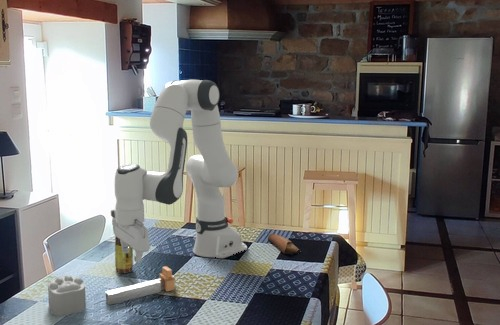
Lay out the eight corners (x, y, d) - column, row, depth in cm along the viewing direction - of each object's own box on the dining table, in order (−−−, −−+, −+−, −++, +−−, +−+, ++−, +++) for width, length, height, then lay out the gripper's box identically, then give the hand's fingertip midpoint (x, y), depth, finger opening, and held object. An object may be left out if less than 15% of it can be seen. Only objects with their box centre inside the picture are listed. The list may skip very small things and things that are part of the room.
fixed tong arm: (172, 285, 186) (172, 275, 186) (174, 286, 185) (174, 276, 185) (105, 302, 172) (105, 291, 172) (107, 303, 171) (107, 292, 171)
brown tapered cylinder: (303, 253, 219) (296, 240, 217) (289, 263, 218) (282, 250, 216) (285, 238, 236) (278, 227, 233) (272, 248, 234) (265, 236, 232)
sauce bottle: (128, 275, 194) (127, 222, 190) (112, 273, 195) (111, 220, 191) (136, 268, 200) (135, 216, 196) (120, 266, 201) (119, 215, 197)
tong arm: (159, 290, 182) (159, 280, 181) (160, 291, 181) (160, 281, 180) (107, 303, 171) (107, 293, 170) (109, 305, 170) (108, 294, 169)
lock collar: (167, 283, 186) (167, 265, 185) (174, 289, 182) (174, 270, 181) (159, 285, 185) (159, 266, 183) (166, 291, 180) (166, 272, 179)
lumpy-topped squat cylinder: (53, 318, 162) (52, 291, 160) (45, 300, 172) (44, 275, 171) (88, 310, 167) (87, 284, 165) (78, 294, 178) (77, 269, 176)
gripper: (154, 222, 164) (155, 265, 167) (126, 206, 180) (128, 245, 183) (134, 226, 160) (136, 270, 163) (108, 209, 176) (110, 249, 179)
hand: (131, 257), depth 173 cm, fingers open, 8 cm apart
